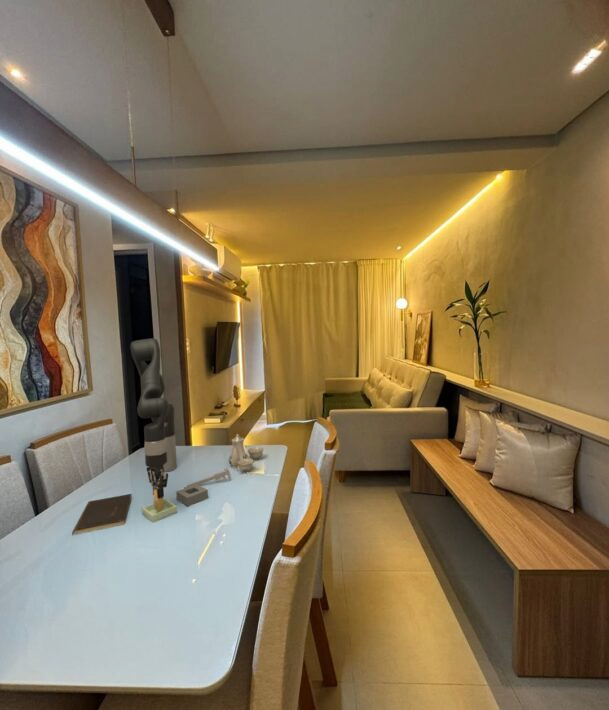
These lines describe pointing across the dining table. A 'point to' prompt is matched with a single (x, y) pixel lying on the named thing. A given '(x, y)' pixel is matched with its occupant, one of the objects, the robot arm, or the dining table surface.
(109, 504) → the hardcover book
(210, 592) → the dining table surface
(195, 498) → the socket block
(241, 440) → the chinaware
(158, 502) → the fuse
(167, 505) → the parts tray
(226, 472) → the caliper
